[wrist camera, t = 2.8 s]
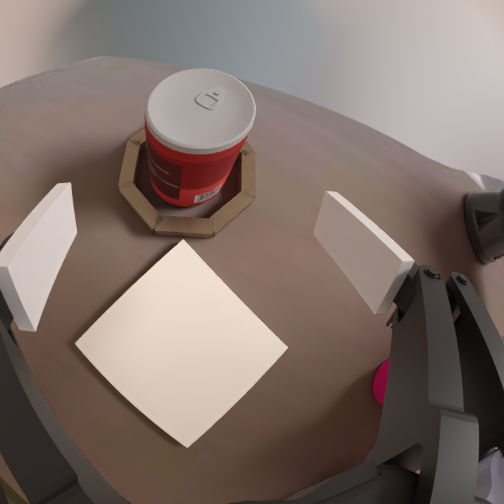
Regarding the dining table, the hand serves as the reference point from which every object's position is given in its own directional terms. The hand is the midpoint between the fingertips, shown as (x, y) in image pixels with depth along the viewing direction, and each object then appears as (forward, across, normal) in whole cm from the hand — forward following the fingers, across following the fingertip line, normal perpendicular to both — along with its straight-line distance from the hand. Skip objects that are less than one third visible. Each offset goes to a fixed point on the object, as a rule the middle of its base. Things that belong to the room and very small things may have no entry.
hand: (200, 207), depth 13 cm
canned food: (+15, 0, +3) cm, 15 cm away
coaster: (+3, +1, +15) cm, 15 cm away
